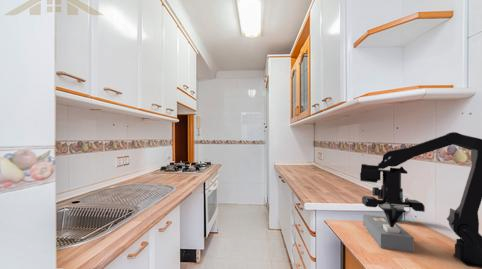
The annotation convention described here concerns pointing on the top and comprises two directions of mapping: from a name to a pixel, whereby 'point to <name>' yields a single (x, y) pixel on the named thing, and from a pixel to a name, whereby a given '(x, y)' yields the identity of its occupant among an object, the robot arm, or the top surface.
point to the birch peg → (379, 219)
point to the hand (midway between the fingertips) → (391, 226)
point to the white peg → (391, 229)
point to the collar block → (388, 234)
